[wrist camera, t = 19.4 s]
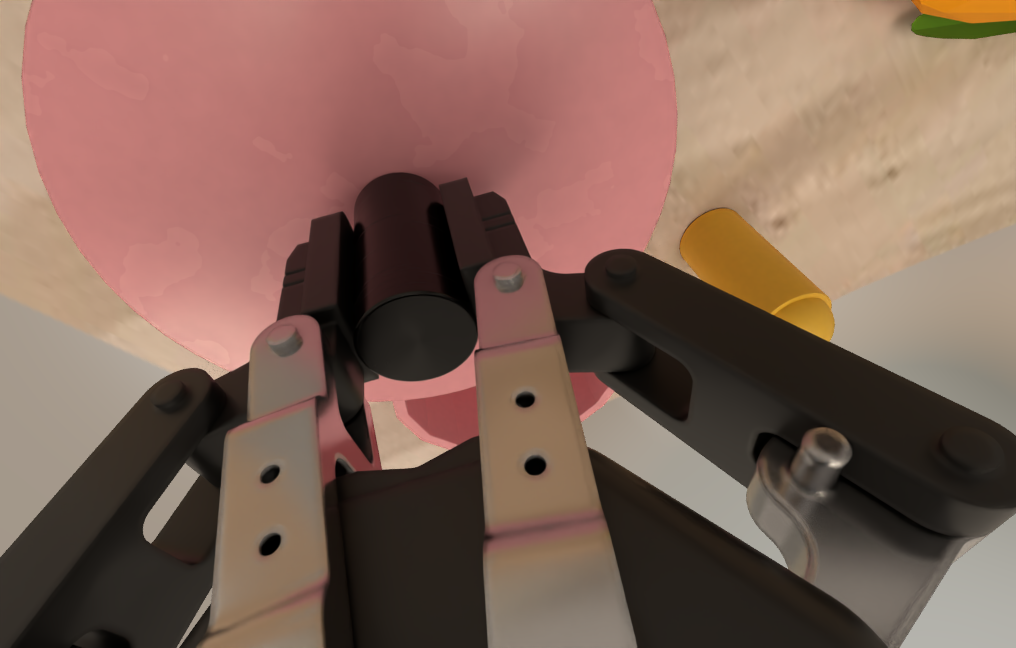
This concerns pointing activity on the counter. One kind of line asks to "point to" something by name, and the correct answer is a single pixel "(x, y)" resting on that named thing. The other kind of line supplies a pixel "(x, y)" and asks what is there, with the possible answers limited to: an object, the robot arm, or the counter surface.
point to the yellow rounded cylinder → (754, 271)
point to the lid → (343, 153)
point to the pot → (458, 415)
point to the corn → (964, 18)
